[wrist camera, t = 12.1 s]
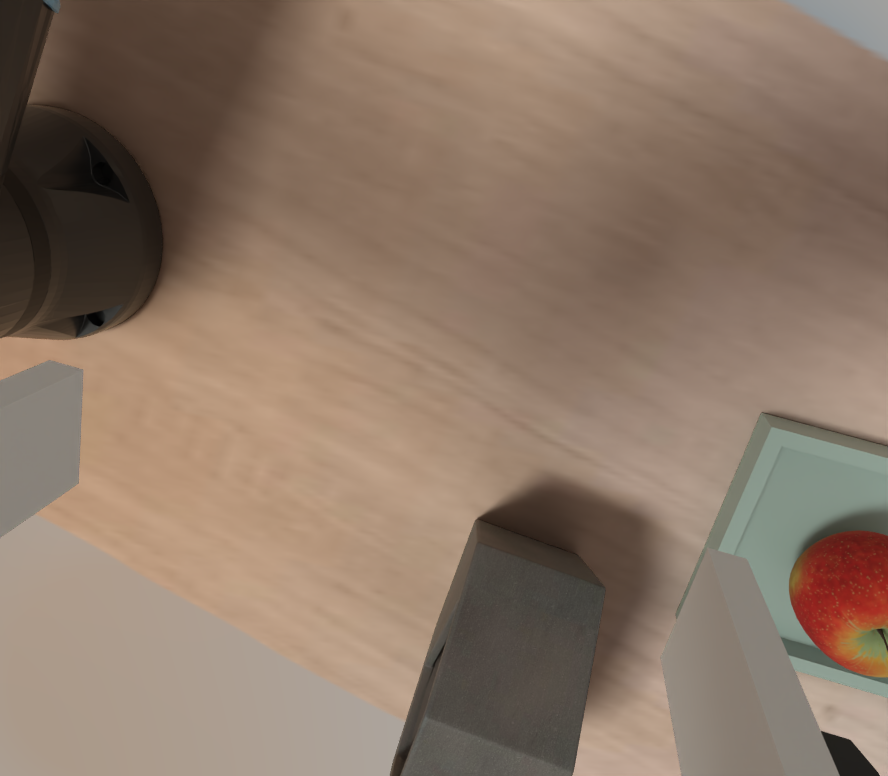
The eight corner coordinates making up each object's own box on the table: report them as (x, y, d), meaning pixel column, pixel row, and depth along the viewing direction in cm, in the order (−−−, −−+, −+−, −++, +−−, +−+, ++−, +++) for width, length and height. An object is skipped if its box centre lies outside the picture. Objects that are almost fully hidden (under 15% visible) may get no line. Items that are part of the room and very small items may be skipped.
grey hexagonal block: (501, 462, 43) (384, 845, 31) (621, 505, 43) (550, 909, 31) (455, 562, 57) (363, 854, 45) (546, 595, 57) (477, 899, 45)
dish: (675, 614, 50) (680, 636, 48) (761, 412, 44) (771, 426, 42) (903, 681, 49) (919, 707, 46) (1022, 482, 43) (1047, 501, 41)
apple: (935, 570, 45) (1031, 682, 36) (820, 630, 48) (881, 748, 39) (864, 480, 44) (943, 570, 35) (749, 546, 47) (794, 646, 37)
